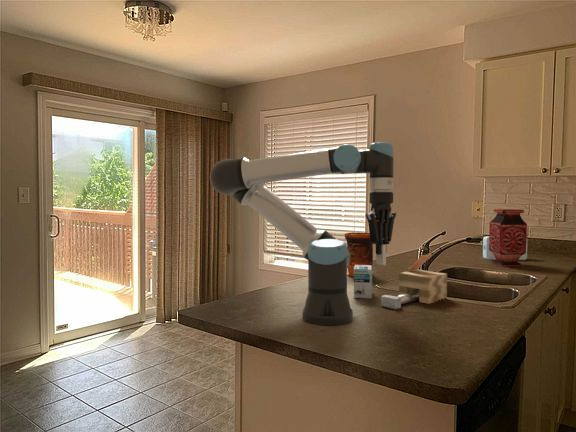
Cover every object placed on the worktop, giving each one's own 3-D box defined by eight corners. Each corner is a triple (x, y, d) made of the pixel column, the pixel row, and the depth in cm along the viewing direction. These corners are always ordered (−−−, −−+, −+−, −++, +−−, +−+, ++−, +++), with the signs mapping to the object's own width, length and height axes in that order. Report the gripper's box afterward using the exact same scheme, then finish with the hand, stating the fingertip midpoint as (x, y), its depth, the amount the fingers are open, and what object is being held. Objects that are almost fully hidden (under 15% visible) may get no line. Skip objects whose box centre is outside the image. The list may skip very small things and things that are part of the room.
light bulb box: (372, 299, 154) (372, 269, 153) (353, 298, 155) (353, 268, 155) (372, 292, 164) (372, 264, 164) (354, 291, 166) (354, 264, 165)
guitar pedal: (522, 258, 255) (522, 236, 254) (527, 259, 249) (527, 237, 249) (482, 258, 256) (482, 236, 256) (486, 259, 250) (486, 237, 250)
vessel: (337, 274, 201) (338, 232, 201) (356, 272, 211) (357, 231, 210) (361, 279, 191) (362, 234, 190) (380, 276, 200) (381, 233, 200)
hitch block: (428, 303, 147) (428, 277, 146) (399, 297, 156) (399, 273, 155) (446, 298, 154) (447, 273, 154) (417, 292, 164) (418, 269, 163)
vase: (499, 267, 223) (500, 209, 222) (488, 263, 237) (489, 208, 236) (526, 267, 223) (527, 209, 222) (513, 263, 237) (514, 208, 235)
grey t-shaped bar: (395, 309, 140) (395, 299, 140) (381, 305, 144) (381, 296, 144) (424, 301, 151) (424, 291, 150) (410, 298, 155) (410, 289, 155)
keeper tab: (407, 271, 158) (406, 269, 159) (417, 269, 162) (416, 268, 163) (422, 256, 153) (421, 255, 154) (432, 255, 157) (431, 253, 158)
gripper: (377, 191, 130) (377, 267, 131) (403, 191, 139) (402, 263, 140) (359, 191, 136) (358, 265, 137) (384, 191, 145) (384, 261, 146)
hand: (381, 264), depth 139 cm, fingers closed
